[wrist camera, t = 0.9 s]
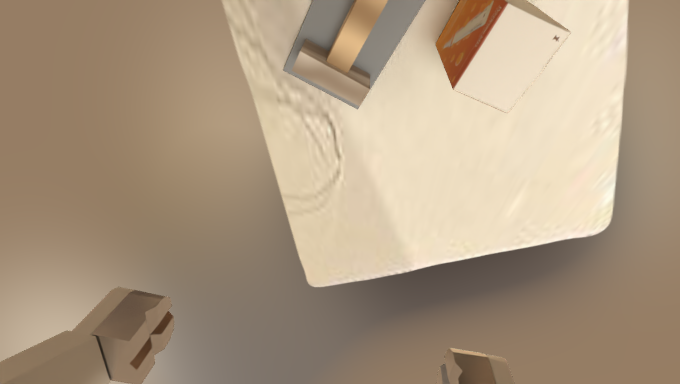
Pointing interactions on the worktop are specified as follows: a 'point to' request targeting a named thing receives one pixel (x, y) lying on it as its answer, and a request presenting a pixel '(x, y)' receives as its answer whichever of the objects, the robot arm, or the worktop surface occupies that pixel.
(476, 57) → the small box
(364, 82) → the wooden t-shaped stand
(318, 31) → the mat
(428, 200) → the worktop surface
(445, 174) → the worktop surface
